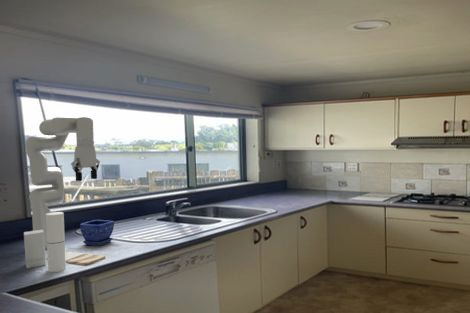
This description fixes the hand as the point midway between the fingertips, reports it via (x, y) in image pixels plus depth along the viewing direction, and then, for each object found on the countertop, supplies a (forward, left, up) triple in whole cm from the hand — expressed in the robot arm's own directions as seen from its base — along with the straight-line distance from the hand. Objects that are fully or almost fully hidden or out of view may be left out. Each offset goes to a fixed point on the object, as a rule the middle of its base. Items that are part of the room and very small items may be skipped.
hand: (86, 179), depth 191 cm
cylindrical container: (-5, -15, -39) cm, 42 cm away
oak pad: (-2, 0, -38) cm, 38 cm away
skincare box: (-19, -14, -39) cm, 45 cm away
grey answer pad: (-15, 0, -39) cm, 41 cm away
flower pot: (-19, +27, -39) cm, 51 cm away
